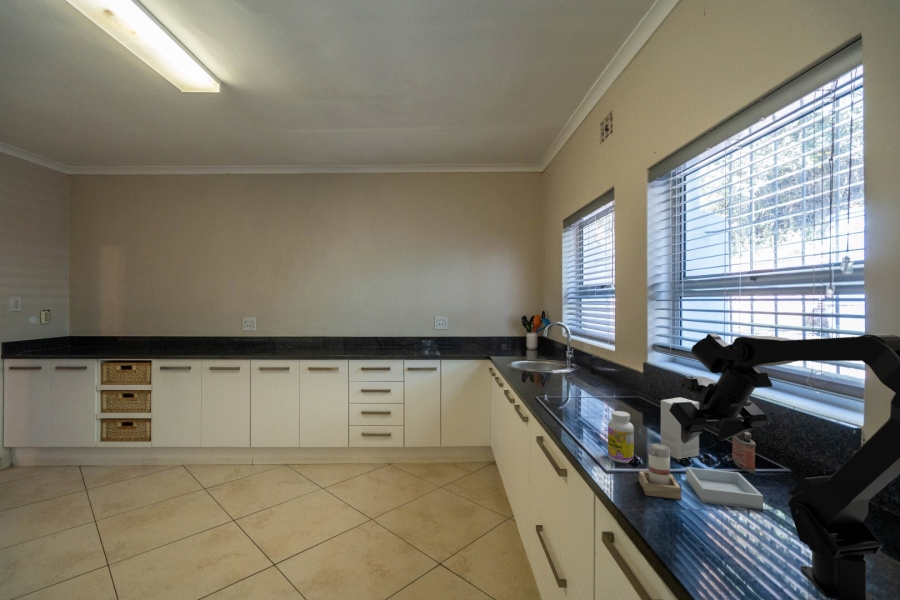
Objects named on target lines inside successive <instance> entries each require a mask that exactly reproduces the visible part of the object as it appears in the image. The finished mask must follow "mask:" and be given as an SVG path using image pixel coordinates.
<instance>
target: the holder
mask: <svg viewBox="0 0 900 600" xmlns="http://www.w3.org/2000/svg"><path fill="white" fill-rule="evenodd" d="M638 481H639V484H640V486H641V488H642V490H643V492H644V494H645V496H651V497H658V498H660V497H661V498H667V499H673V500H674V499H675V500H682V487H681V486H680V485H679V483H678V482H677V479H676V478H675V477H674V475H673V474H672V473H670V485H662V484H654V483H649V470H640V469H639V470H638Z"/></svg>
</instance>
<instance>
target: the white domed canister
mask: <svg viewBox="0 0 900 600" xmlns="http://www.w3.org/2000/svg"><path fill="white" fill-rule="evenodd" d="M648 471H649V483H654V484H662V485H670V474H671V456H670V448H669V447H667V446H665V445H661V443H649V444H648Z"/></svg>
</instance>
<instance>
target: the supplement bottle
mask: <svg viewBox="0 0 900 600" xmlns="http://www.w3.org/2000/svg"><path fill="white" fill-rule="evenodd" d="M611 417H612V419H610V420H609V422H608V424H607V457H608V459H610V460H611V461H613V462H616V463H619V464H629V461H631V460H632V459H633V460H634V458H635V457H634V456H635V455H634V452H635V451H634V449H635V448H634V447H635V446H634V445H635V444H634V439H635V438H634V437H635V433H634V432H635V431H634V430H635V427H634V425H633V424H632V423H631V422H630V419H631V414H630V413H629V412H626V411H621V410H614V411H612V412H611ZM633 457H634V458H633Z"/></svg>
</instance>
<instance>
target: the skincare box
mask: <svg viewBox="0 0 900 600" xmlns="http://www.w3.org/2000/svg"><path fill="white" fill-rule="evenodd" d="M675 402H692V403H693V404H694V406H695V407H696V408H697V409H698V410H700V402H699V401H695V400H691V399H689V398H684V397H681V396H679V397H673V398H668V399H661V400H660V444H661V445H665V446H667V447H669V448H670V458H673V459H675V460H678V459H682V458H687V459H689V458H688V457H691V458H694V457H699V456H700V434H699V435H698V436H696V437H695V438H694V439H692V440H691V441H689V442H687V443H686V444H684V443H683V442H682V441H681V424H680V423H679V422H678V421H677V420H676V418H675V417H674V416H673V415H672V414H671V412H670V411H669V410H670V407H671V405H672V404H673V403H675ZM682 460H683V459H682Z"/></svg>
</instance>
